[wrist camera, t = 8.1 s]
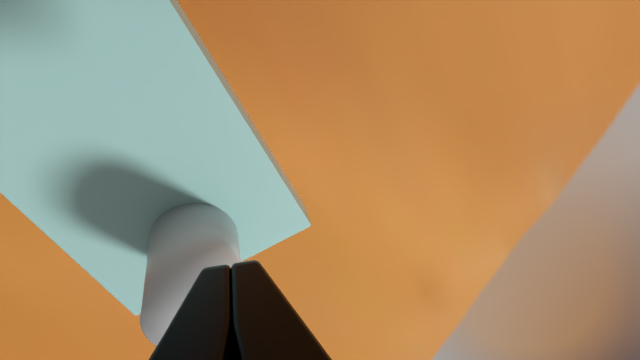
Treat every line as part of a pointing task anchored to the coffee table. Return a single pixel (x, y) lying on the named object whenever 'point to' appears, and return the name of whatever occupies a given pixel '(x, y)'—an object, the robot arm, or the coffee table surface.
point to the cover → (134, 149)
